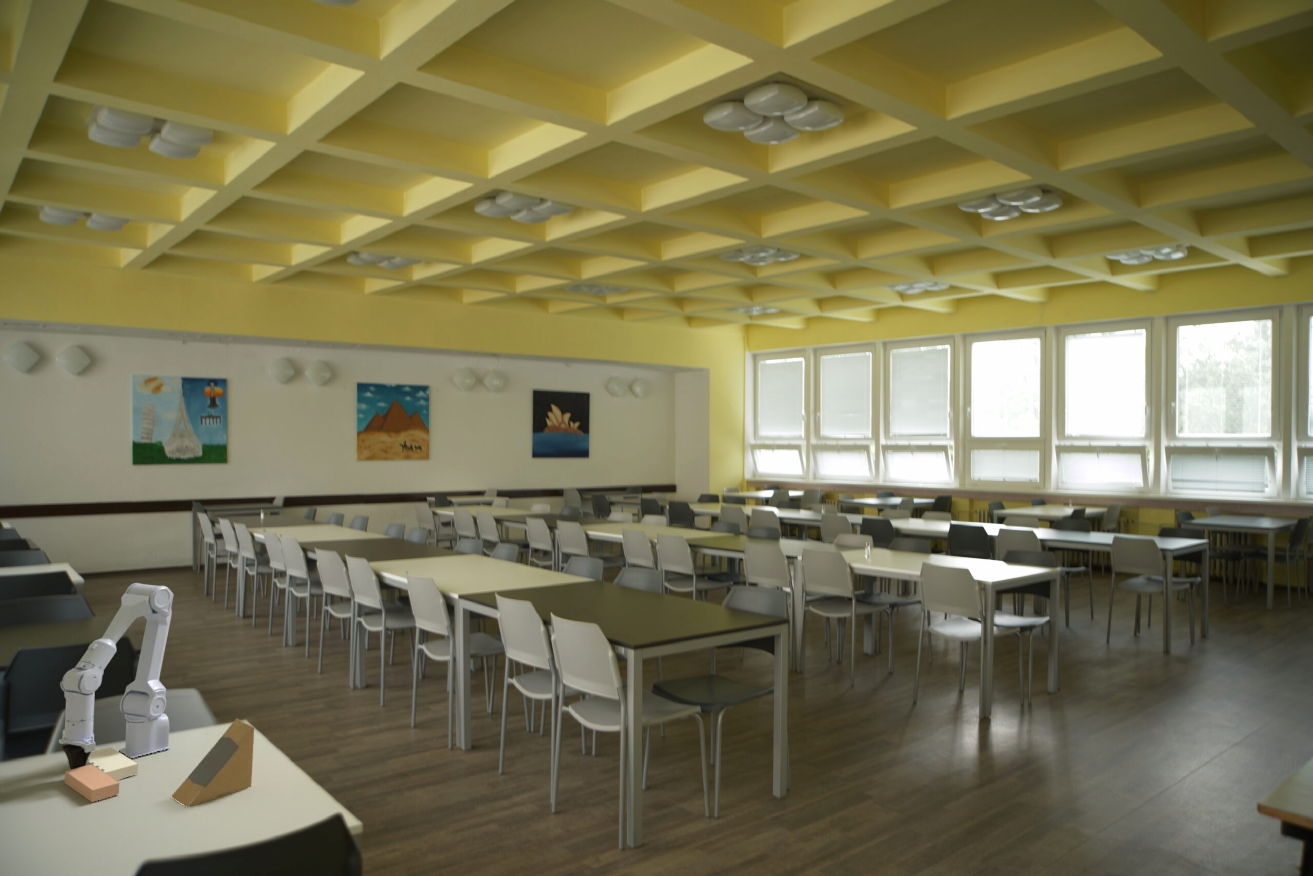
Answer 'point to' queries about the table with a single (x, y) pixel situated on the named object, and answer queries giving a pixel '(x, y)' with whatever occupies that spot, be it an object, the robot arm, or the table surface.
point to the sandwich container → (221, 767)
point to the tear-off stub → (91, 783)
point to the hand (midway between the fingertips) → (77, 773)
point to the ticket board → (112, 763)
